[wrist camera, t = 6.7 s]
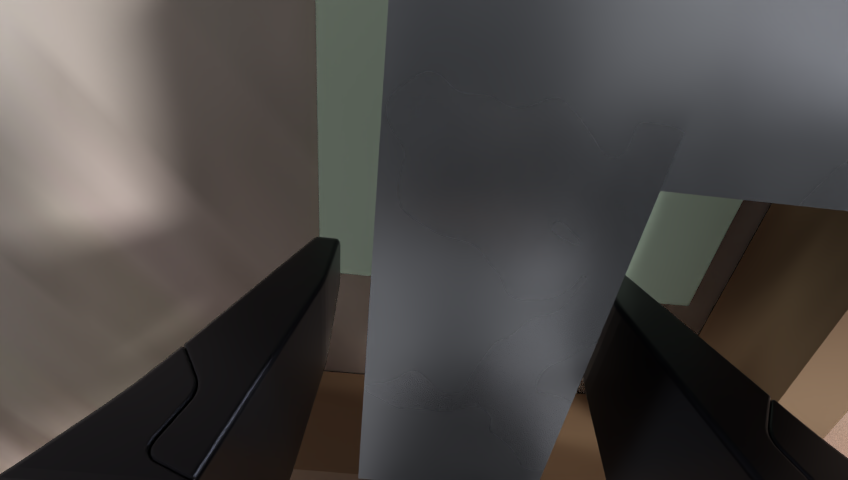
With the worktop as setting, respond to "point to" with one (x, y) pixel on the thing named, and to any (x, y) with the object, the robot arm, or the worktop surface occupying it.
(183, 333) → the worktop surface
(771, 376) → the wooden corner frame
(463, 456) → the bracket
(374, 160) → the pad
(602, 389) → the robot arm
